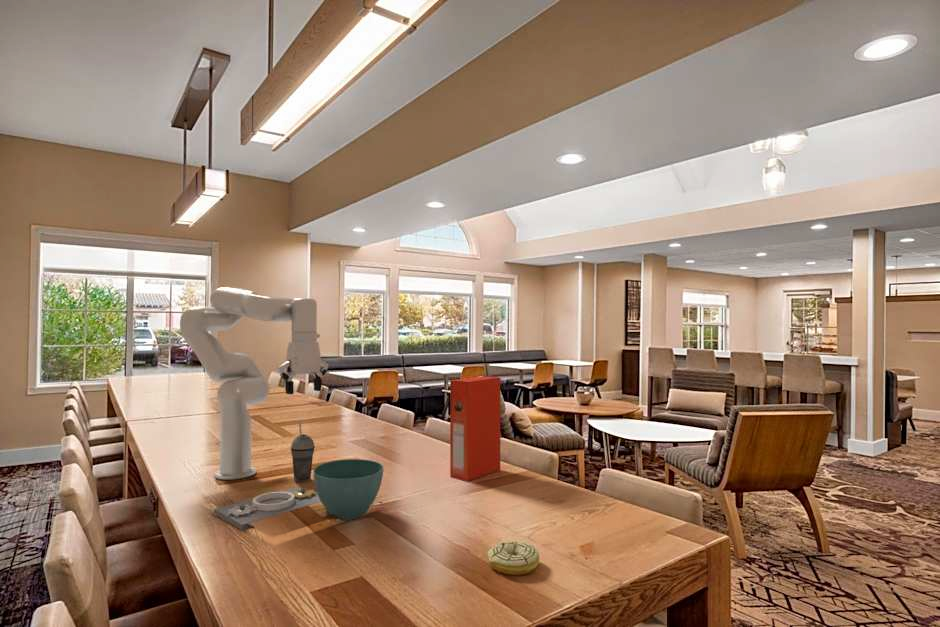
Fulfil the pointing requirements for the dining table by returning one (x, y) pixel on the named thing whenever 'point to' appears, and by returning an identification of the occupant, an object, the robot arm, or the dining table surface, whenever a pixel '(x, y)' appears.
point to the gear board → (262, 514)
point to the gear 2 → (303, 494)
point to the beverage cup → (302, 457)
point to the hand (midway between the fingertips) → (303, 392)
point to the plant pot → (348, 486)
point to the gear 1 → (241, 511)
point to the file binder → (474, 427)
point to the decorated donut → (513, 558)
